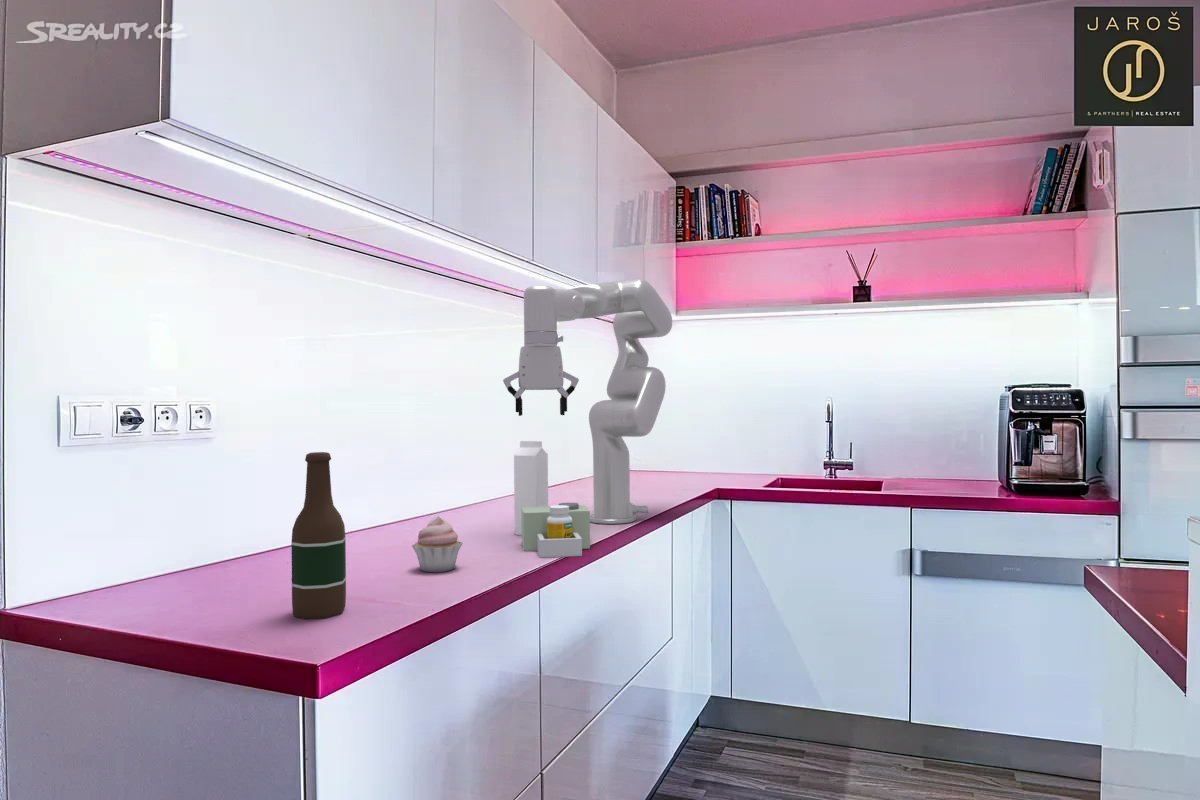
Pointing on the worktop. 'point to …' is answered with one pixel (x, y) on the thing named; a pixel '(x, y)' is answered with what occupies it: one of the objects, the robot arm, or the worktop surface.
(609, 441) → the robot arm
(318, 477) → the beer bottle
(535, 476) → the milk
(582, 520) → the green box with tray
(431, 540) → the cupcake
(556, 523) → the supplement bottle
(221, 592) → the worktop surface
